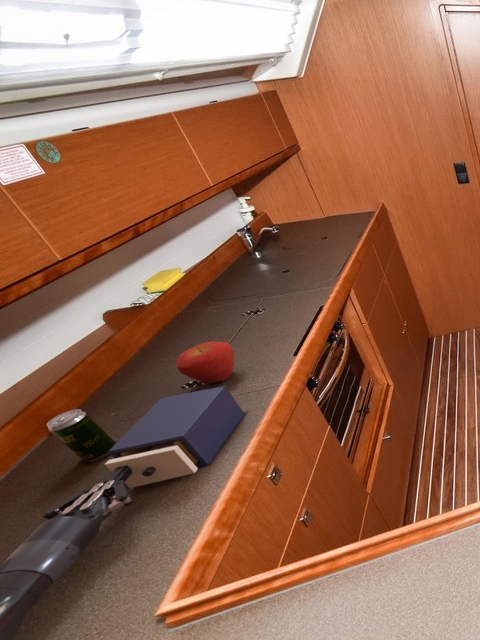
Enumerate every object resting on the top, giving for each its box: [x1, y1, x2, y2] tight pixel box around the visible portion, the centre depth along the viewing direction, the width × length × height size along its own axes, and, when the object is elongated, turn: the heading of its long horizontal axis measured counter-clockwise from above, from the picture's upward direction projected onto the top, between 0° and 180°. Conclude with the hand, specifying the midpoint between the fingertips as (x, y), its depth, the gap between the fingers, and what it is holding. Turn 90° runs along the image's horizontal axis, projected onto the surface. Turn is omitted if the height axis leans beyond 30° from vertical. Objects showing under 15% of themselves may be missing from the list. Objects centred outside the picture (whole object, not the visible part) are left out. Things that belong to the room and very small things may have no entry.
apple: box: [175, 341, 235, 384], centre depth 114 cm, size 11×11×12 cm
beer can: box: [46, 408, 117, 463], centre depth 93 cm, size 5×5×12 cm
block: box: [150, 441, 176, 451], centre depth 91 cm, size 4×4×4 cm
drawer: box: [104, 439, 199, 489], centre depth 92 cm, size 16×12×8 cm
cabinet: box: [108, 385, 245, 468], centre depth 95 cm, size 16×13×10 cm
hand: (125, 468), depth 84 cm, fingers closed
